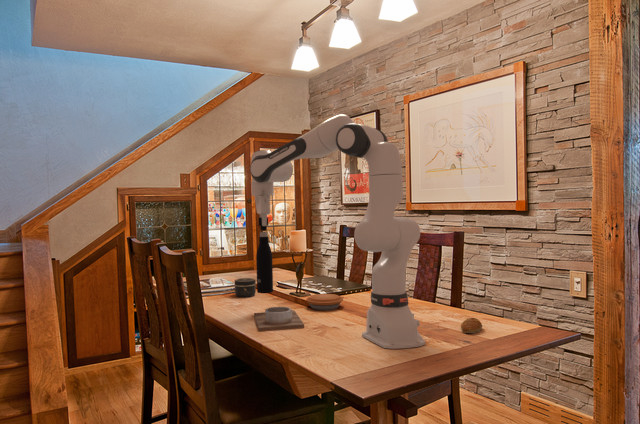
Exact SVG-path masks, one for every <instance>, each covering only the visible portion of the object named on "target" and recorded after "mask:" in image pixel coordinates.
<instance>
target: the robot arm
mask: <svg viewBox="0 0 640 424" xmlns="http://www.w3.org/2000/svg"><path fill="white" fill-rule="evenodd" d="M338 150H339V151H340V152H342V154H344V155H347V156H349V157H353V158H358V159H364V160H365V161H366V162H367V165H368V166H367V167H368V204H367V206H366V207H367V208H366V210H365V214H364V216H363V217H362V219H361V221H360V222H358V223H357V225H356V226H355V228H354V233H353V236H354V241H355V244H356V245H357V246H358V248H359V249H360V250H362V251H364V252H370V253H371V252H372V253H379V252H381V254H380V258H379V259H378V260H377V262H376V263H375V264H374V265H373V266H372V269H371V292H370V302H371V305H370V306H369V308H368V309H367V311H366V324H365V325H366V327H365V328H366V329H365V331H363V332H362V337H363V338H365V339H367V340H369V341H370V342H373V343H374V344H376V345H377V346H379V347H381V348H383V349H391V350H392V349H395V350H396V349H398V350H399V349H410V348H417V347H423V346H425V345H426V340H425V339H424V338H423V336H422V335H421V334H420V333H419V331H418V327H420V324H421V323H420V320H419V319H418V318H417V319H415V313H413V312H412V310H411V309H410V306H409V296H408V293H407V290H406V289H407V287H406V286H407V285H406V284H407V283H406V280H407V279H406V278H407V267H408V261H409V258H410V255H411V253H412V251H413V248H414V247H415V246H416V245H417V244H418V242H419V241H420V238H421V228H420V225H419V223H418V222H417V221H416V220H415V219H413V218H409V217H404V216H394V215H395V211H396V208H397V206H398V205H399V204H400V203H401V202H402V200H403V199H404V185H403V184H404V183H403V167H402V159H401V155H400V150H399V148H398V146H397V145H396V144H395V143H392V142H390V141H388V137H387V135H386V134H385V132H383V131H382V130H380V129H379V128H376V127H372V126H369V125H366V124H362V123H361V124H360V123H355V122H354V121H353V119H352V118H351V117H350V116H348V115H347V114H343V113H342V114H338V115H335V116H333V117H330V118H328V119H327V120H325V121H323V122H321V123H320V124H318V125H317V126H316V127H314V128H312V129H311V130H308V131H307V132H306V133H304V134H302V135H300V136H298V137H297V138H294V139H293V140H291V141H289V142H287V143H285V144H283V145H281V146H279V147H278V148H276V149H274V150H273V151H271V150H269V149H261V150H257V151H254V152H253V153H252V154H251V160H250V164H249V165H250V166H249V172H250V175H251V185H250V186H251V196H252V197H254V201H255V210H256V213H257V214H259V218H262V226H266V225H267V217H268V216H269V215H270V214H271V202H270V201H271V200H272V198H271V196H274V195H275V193H274V190H275V189H274V183H284V182H288V181H289V180H290V179H291V178H292V176H293V174H294V173H293V172H294V167H293V163H292V162H293V161H295V160H302V159H303V160H304V159H321V158H324V157H327V156H329V155H331V154H333V153H335V152H336V151H338Z"/></svg>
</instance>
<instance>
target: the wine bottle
mask: <svg viewBox="0 0 640 424" xmlns="http://www.w3.org/2000/svg"><path fill="white" fill-rule="evenodd" d="M258 226H259V227H260V232H259V237H258V240H259V241H258V243H259V244H258V247H257V250H256V256H255V257H256V258H255V259H256V263H255V264H256V293H257V294H270V293H273V292H274V277H273V276H274V275H273V274H274V273H273V271H274V270H273V253H272V249H271V245H270V244H269V238H270V237H269V236H268V234H269V233H268V228H267V226H269V217H268V216H267V225H266V226H262V218H260V217H258Z"/></svg>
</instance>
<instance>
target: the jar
mask: <svg viewBox="0 0 640 424" xmlns="http://www.w3.org/2000/svg"><path fill="white" fill-rule="evenodd" d="M256 293H257V280H256V279H255V278H251V277H249V278H248V277H246V278H245V277H244V278H238V279H234V294H235V296H236V297H237V298H252V297H254V296H255V295H256Z"/></svg>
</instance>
